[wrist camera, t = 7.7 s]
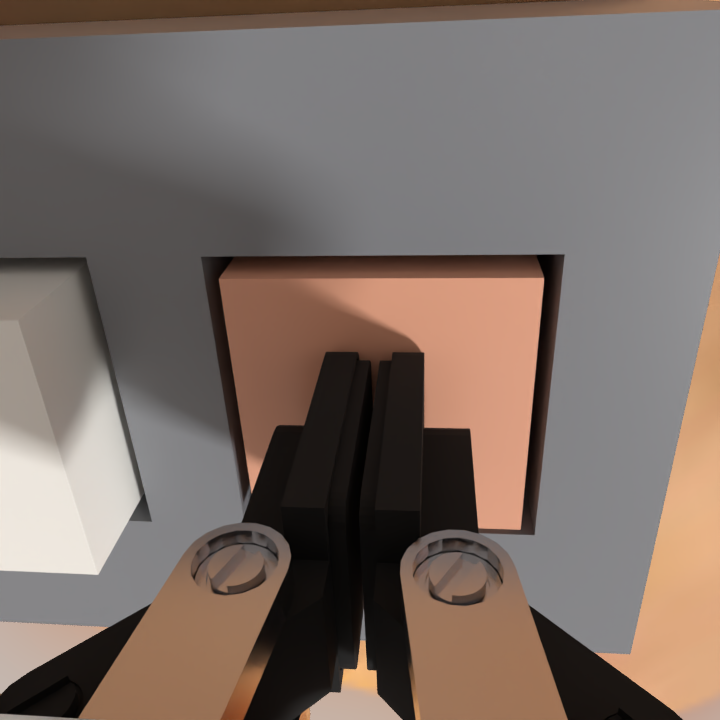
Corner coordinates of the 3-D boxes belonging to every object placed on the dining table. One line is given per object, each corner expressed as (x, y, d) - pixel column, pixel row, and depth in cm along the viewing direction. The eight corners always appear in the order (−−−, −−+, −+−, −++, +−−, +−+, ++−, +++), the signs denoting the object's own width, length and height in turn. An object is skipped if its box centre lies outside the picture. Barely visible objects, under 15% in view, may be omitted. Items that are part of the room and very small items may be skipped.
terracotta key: (260, 219, 13) (219, 279, 11) (522, 216, 13) (544, 277, 10) (285, 430, 16) (255, 520, 13) (506, 435, 15) (520, 529, 13)
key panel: (-528, 48, 15) (-865, 75, 11) (667, -4, 12) (774, 7, 8) (-262, 481, 21) (-423, 599, 17) (588, 508, 18) (630, 654, 14)
